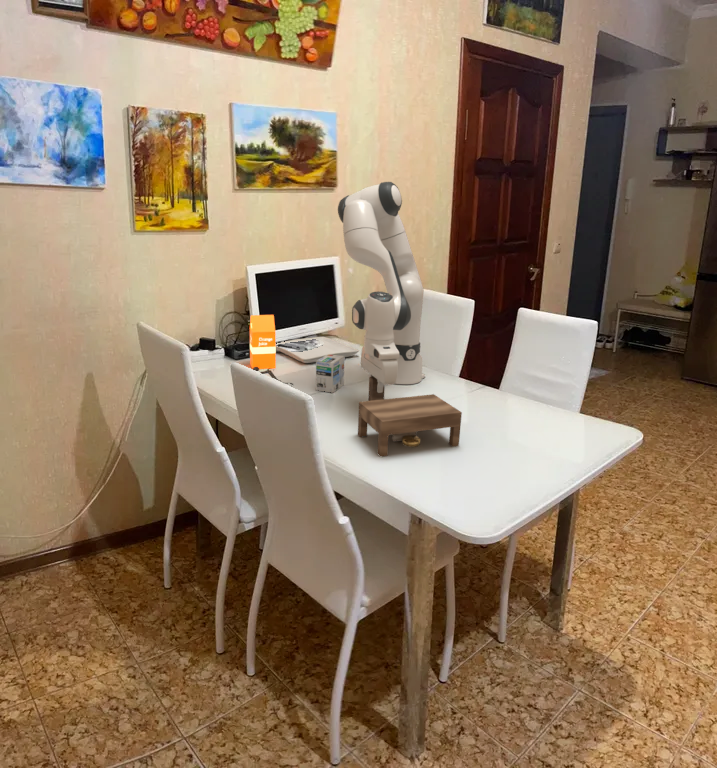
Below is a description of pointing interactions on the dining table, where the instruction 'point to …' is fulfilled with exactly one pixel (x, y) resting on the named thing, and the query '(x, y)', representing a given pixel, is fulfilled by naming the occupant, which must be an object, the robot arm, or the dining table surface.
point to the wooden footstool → (408, 418)
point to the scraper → (380, 396)
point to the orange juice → (262, 342)
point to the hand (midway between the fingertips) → (376, 389)
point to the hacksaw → (268, 372)
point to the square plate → (319, 350)
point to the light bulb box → (330, 373)
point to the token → (411, 441)
